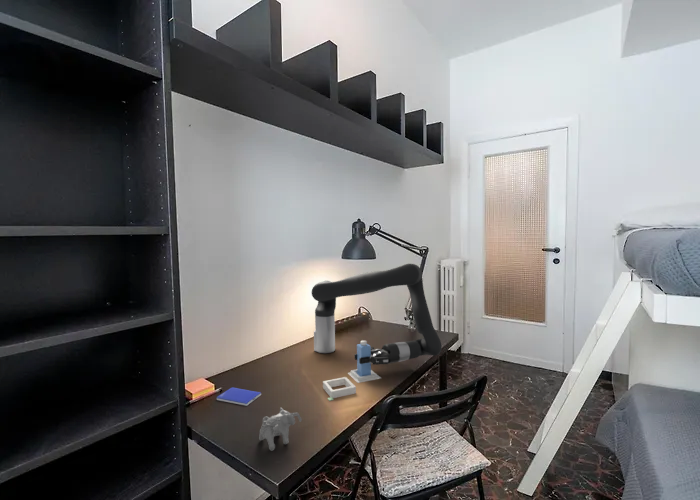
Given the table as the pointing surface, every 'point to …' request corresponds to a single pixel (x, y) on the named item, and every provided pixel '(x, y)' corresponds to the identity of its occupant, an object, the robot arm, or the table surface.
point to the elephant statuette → (277, 427)
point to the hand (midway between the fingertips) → (357, 358)
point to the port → (340, 392)
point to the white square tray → (363, 378)
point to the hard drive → (238, 396)
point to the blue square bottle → (363, 351)
